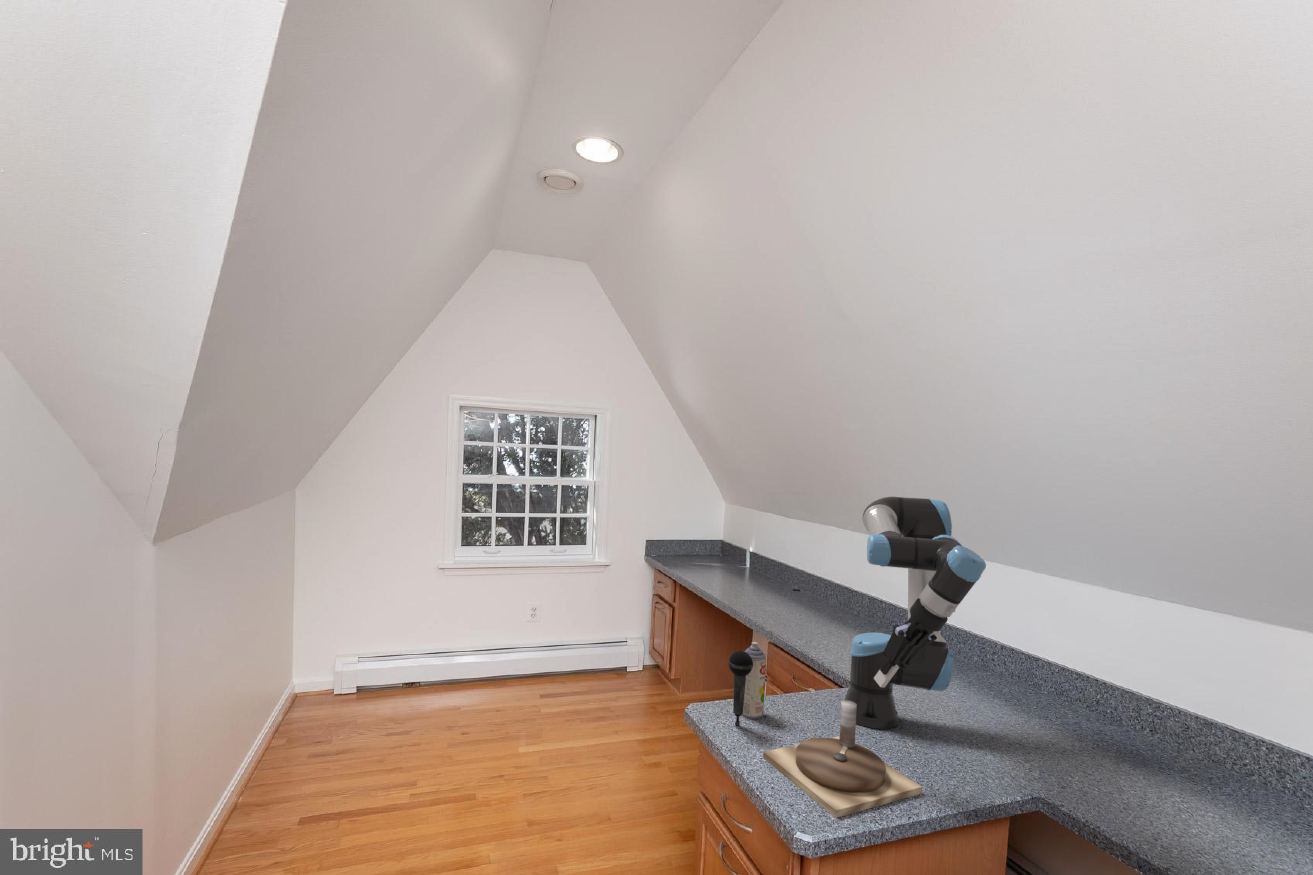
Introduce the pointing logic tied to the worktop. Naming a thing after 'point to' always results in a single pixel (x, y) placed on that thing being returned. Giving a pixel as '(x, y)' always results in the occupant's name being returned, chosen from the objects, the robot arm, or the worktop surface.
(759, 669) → the aerosol can
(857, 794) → the stand plate
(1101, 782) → the worktop surface
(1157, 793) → the worktop surface
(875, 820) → the worktop surface
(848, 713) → the dial
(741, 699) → the microphone
